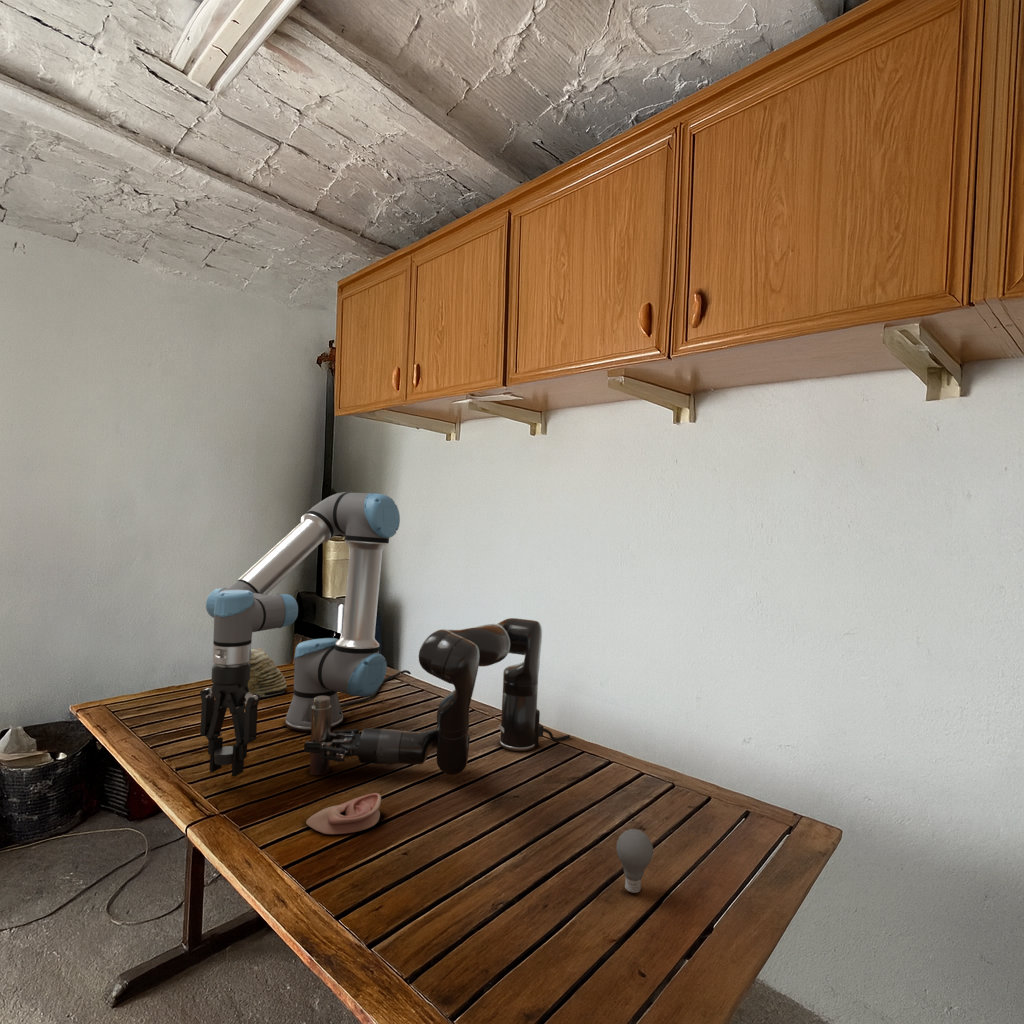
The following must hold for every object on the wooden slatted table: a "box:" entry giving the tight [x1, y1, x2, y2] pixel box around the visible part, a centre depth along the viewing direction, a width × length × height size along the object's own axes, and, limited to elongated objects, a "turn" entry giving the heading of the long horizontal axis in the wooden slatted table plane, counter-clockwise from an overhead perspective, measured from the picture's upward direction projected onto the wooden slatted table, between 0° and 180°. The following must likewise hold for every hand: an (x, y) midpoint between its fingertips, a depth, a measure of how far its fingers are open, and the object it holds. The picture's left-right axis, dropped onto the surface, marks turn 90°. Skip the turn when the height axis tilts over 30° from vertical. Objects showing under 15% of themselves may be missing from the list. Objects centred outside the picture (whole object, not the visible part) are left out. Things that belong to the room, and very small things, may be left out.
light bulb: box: [615, 828, 654, 894], centre depth 106 cm, size 6×6×10 cm
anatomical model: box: [305, 792, 382, 835], centre depth 124 cm, size 13×4×12 cm
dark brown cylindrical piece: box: [309, 696, 332, 776], centre depth 146 cm, size 4×4×17 cm
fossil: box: [248, 647, 288, 698], centre depth 198 cm, size 9×18×15 cm, turn 132°
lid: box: [214, 745, 233, 766], centre depth 135 cm, size 5×5×2 cm
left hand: (226, 771), depth 135 cm, fingers closed on lid, 5 cm apart
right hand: (308, 742), depth 146 cm, fingers closed on dark brown cylindrical piece, 4 cm apart
